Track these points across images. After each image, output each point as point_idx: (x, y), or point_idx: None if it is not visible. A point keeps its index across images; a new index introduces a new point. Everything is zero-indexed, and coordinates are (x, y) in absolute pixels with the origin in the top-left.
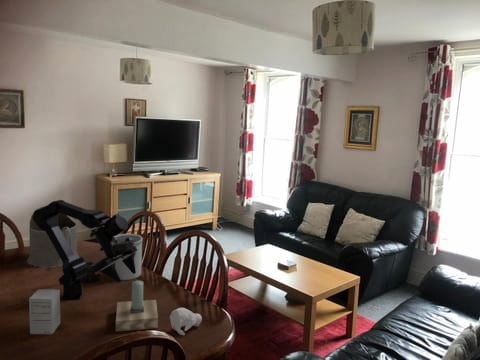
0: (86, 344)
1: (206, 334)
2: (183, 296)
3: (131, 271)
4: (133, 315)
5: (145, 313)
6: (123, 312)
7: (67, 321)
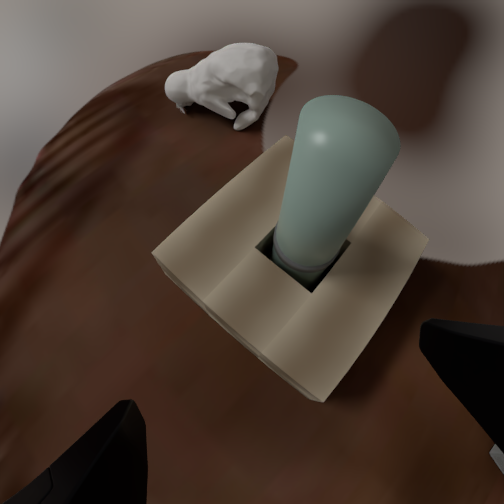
0: (487, 271)
1: None
2: (19, 262)
3: (145, 459)
4: None
5: None
6: (371, 276)
7: (472, 453)
